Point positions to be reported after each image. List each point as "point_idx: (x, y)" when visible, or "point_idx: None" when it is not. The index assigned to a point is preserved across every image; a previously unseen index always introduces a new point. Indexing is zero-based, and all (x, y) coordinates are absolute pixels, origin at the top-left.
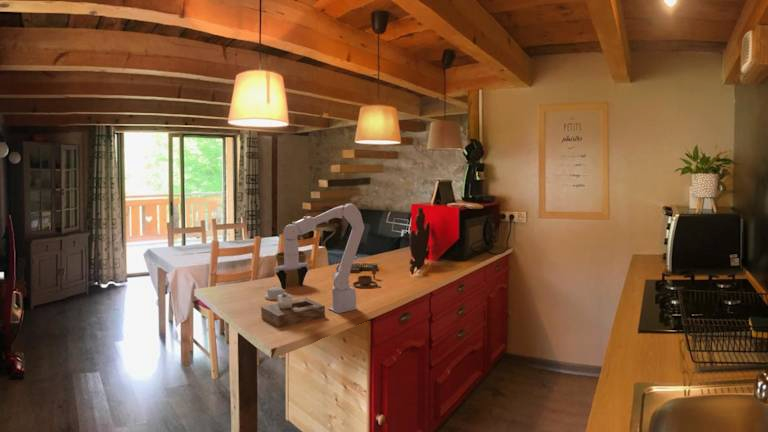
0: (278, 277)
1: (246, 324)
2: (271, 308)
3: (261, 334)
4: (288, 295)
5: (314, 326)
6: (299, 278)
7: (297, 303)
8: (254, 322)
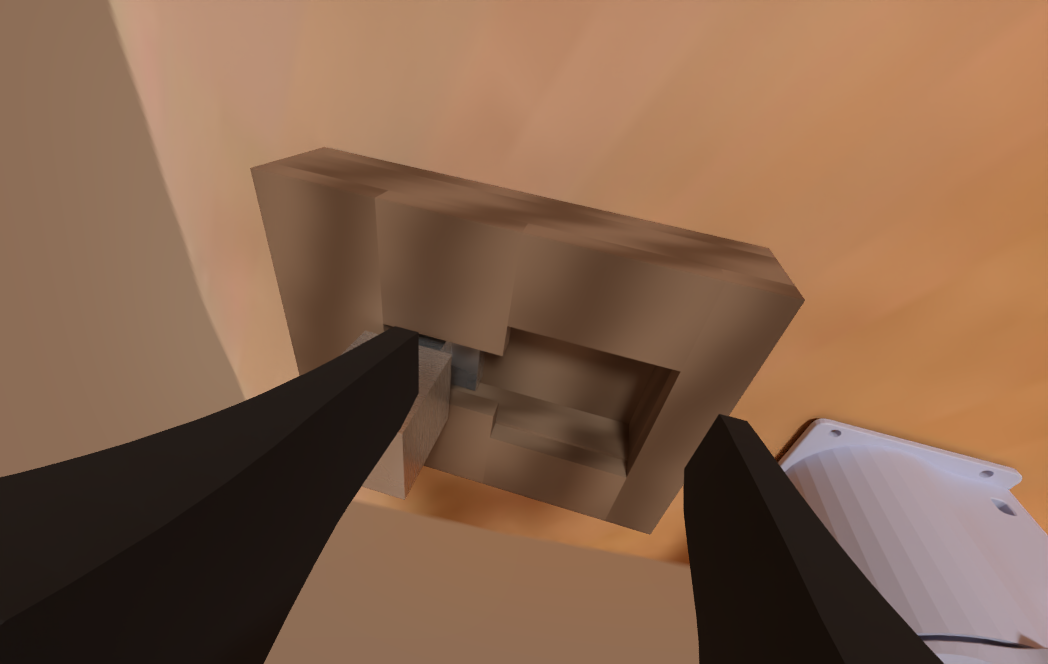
0: (164, 447)
1: (202, 197)
2: (320, 293)
3: (260, 383)
4: (384, 476)
5: (497, 492)
6: (747, 557)
7: (588, 341)
8: (256, 205)
